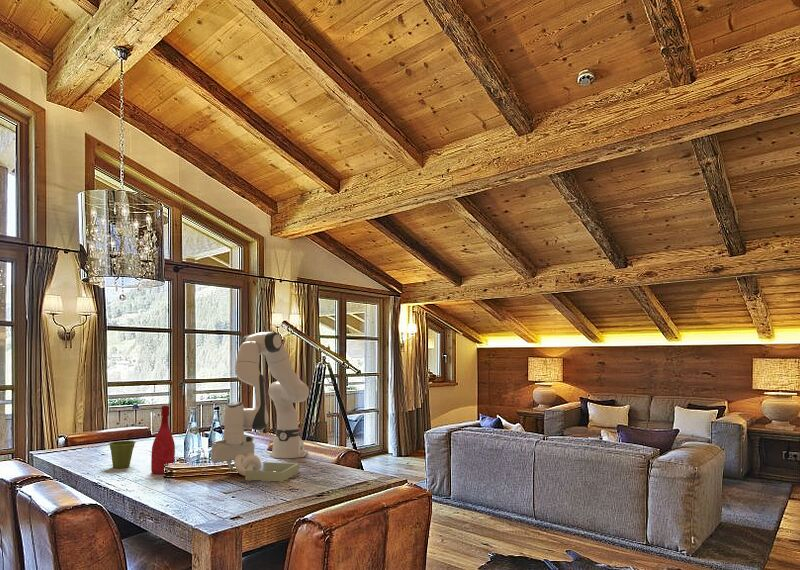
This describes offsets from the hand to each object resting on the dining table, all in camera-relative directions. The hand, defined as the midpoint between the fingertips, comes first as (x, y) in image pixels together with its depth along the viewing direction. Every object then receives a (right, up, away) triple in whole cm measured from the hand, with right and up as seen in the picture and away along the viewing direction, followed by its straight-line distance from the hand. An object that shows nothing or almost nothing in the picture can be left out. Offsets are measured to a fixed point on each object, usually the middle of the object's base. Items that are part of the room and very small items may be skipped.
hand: (232, 470), depth 268 cm
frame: (+19, -2, -4) cm, 19 cm away
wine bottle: (-32, -2, +2) cm, 32 cm away
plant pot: (-57, -3, +14) cm, 58 cm away
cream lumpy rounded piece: (+6, -2, -1) cm, 6 cm away
